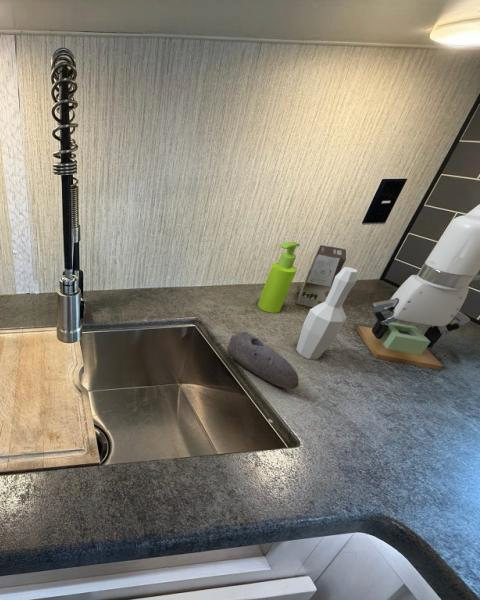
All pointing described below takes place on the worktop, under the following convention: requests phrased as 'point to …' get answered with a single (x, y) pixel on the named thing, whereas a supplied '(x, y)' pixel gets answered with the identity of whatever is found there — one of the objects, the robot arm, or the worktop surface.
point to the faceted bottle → (326, 317)
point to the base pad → (382, 353)
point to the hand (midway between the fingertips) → (400, 339)
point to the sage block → (404, 339)
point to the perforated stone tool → (262, 360)
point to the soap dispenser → (279, 280)
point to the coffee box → (321, 275)
